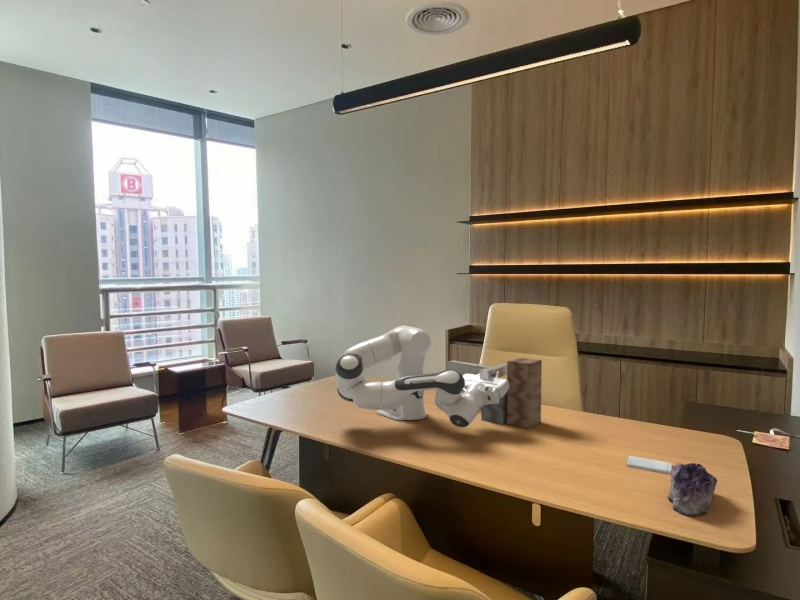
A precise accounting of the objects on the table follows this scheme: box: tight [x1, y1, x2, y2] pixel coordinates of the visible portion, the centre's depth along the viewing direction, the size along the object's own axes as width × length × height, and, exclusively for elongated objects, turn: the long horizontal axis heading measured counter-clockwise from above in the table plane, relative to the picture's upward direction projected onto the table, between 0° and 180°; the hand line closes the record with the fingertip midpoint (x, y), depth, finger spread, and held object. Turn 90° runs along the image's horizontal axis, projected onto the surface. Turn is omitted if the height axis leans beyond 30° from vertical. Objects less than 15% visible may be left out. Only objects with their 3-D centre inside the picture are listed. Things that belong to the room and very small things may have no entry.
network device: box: [446, 359, 492, 412], centre depth 222 cm, size 26×9×20 cm, turn 42°
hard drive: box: [626, 455, 673, 476], centre depth 151 cm, size 2×8×12 cm
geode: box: [667, 462, 718, 518], centre depth 127 cm, size 20×12×10 cm, turn 146°
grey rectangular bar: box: [479, 362, 507, 380], centre depth 199 cm, size 4×22×4 cm, turn 140°
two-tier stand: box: [480, 357, 543, 429], centre depth 199 cm, size 21×12×26 cm, turn 51°
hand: (492, 371), depth 196 cm, fingers closed on grey rectangular bar, 4 cm apart
